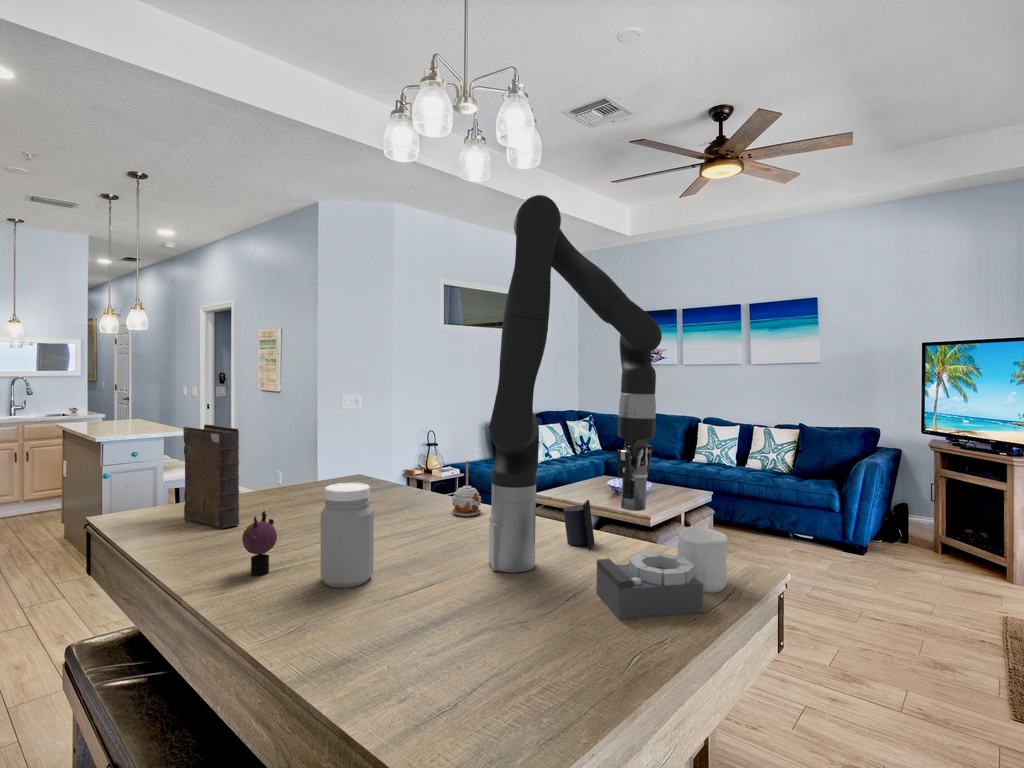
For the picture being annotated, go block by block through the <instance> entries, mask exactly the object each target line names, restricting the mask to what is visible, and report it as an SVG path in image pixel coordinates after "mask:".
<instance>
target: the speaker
mask: <svg viewBox="0 0 1024 768" xmlns="http://www.w3.org/2000/svg"><path fill="white" fill-rule="evenodd" d="M563 517H564V525H565V534H566V540H567V541H566V542H567V544H568V545H571V546H582V545H586V544H587V547H588V550H589V551H591V550H592V548H593V547H594V545H595V544H596V543H595V536H594V528H593V519H592V513H591V503H590V499H587V500H585V502H584V503H583V504H581V505H572V506H567V507H565V508H564V509H563Z"/></svg>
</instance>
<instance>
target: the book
mask: <svg viewBox="0 0 1024 768" xmlns="http://www.w3.org/2000/svg"><path fill="white" fill-rule="evenodd" d="M182 429H183V431H182V432H183V433H182V434H183V444H184V447H183V454H184V492H183V495H184V496H183V499H184V506H183V507H184V508H183V520H184V521H186V522H188V523H192V524H193V523H194V524H199V525H203V526H208V527H210V528H212V529H215V530H222V529H225V528H230V527H235V526H237V525H238V526H239V525H240V504H239V503H240V490H239V489H240V487H239V486H240V482H239V481H240V479H239V478H240V475H239V474H240V473H239V469H240V468H239V464H240V460H239V459H240V457H239V455H240V454H239V452H240V445H239V444H240V439H239V438H240V431H239V428H233V427H224V426H217V425H212V424H204V425H203V428H197V427H189V426H184V427H182Z"/></svg>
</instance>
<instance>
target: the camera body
mask: <svg viewBox="0 0 1024 768" xmlns="http://www.w3.org/2000/svg"><path fill="white" fill-rule="evenodd" d="M628 560H629V561H628V563H629V564H628V563H627V564H616V563H614V561H613V560H611V559H610V558H599V559H598V558H597V560H596V592H595V593H596V594H597V595H598V597H599V598H600V599H601V600H602V602H603V603H604V604H605V605H606V606H607V607H608V609H609V610H610V611H611V612H612V613H613V614H614V616H616V618H617V619H618V620H622V619H637V618H639V619H640V618H653V617H665V616H668V617H669V616H679V615H693V614H703V601H704V600H703V599H704V597H703V596H704V595H703V594H704V592H703V583H701V582H700V581H698V580H697V579H696V578H694V564H692V563H691V562H689V561H688V560H686V559H685V558H681V557H680V556H677V555H673V554H669V553H663V552H661V553H659V552H645V553H644V552H642V553H637V554H635V555H634V556H632V557H631V558H629V559H628Z"/></svg>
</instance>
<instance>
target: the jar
mask: <svg viewBox="0 0 1024 768" xmlns="http://www.w3.org/2000/svg"><path fill="white" fill-rule="evenodd" d="M370 496H371V486H370V485H369V484H367V483H363V482H362V483H361V482H340V483H334V484H330V485H328V486H326V487H324V498H325V500H326V501H324V504H323V505H325V506H324V508H323V509H322V510H321V512H320V578H321V580H322V582H323V583H324V584H325V585H327V586H329V587H332V588H336V589H337V588H342V589H345V588H353V587H358V586H361V585H363V584H365V583H367V581H368V580H369V579H370V578H371V576H372V575H373V574H374V539H375V538H374V534H375V533H374V531H375V530H374V524H375V523H374V522H375V521H374V517H375V515H374V513H375V512H374V511H375V510H374V509H373V508H372V506H371V505H370V503H371V500H370V499H369V497H370Z"/></svg>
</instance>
